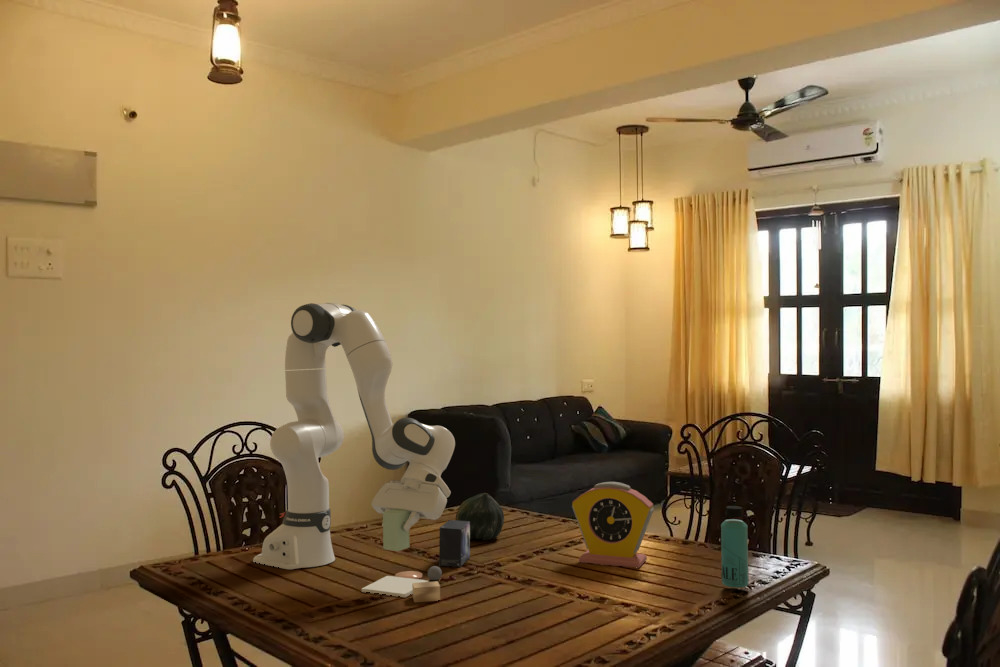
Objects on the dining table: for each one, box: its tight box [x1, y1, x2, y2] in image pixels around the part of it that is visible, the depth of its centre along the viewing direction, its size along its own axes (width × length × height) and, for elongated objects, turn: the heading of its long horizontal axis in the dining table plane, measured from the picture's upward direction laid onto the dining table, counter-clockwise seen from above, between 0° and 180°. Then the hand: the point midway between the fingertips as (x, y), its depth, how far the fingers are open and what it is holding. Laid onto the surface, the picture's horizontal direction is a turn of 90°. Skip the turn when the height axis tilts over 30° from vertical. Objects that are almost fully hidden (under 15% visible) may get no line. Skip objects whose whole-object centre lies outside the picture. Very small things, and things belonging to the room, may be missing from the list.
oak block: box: [412, 580, 441, 603], centre depth 191 cm, size 6×4×4 cm, turn 102°
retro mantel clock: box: [571, 481, 655, 569], centre depth 223 cm, size 22×9×22 cm, turn 68°
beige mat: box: [361, 575, 430, 598], centre depth 200 cm, size 12×12×1 cm
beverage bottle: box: [720, 505, 750, 588], centre depth 197 cm, size 6×7×20 cm
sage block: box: [382, 509, 410, 552], centre depth 200 cm, size 4×4×9 cm
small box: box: [438, 519, 471, 568], centre depth 224 cm, size 11×6×10 cm, turn 168°
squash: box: [454, 492, 505, 542], centre depth 251 cm, size 14×15×15 cm
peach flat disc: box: [394, 570, 423, 579], centre depth 210 cm, size 7×7×1 cm
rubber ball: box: [427, 565, 443, 582], centre depth 206 cm, size 4×4×4 cm
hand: (394, 528), depth 200 cm, fingers closed on sage block, 4 cm apart
